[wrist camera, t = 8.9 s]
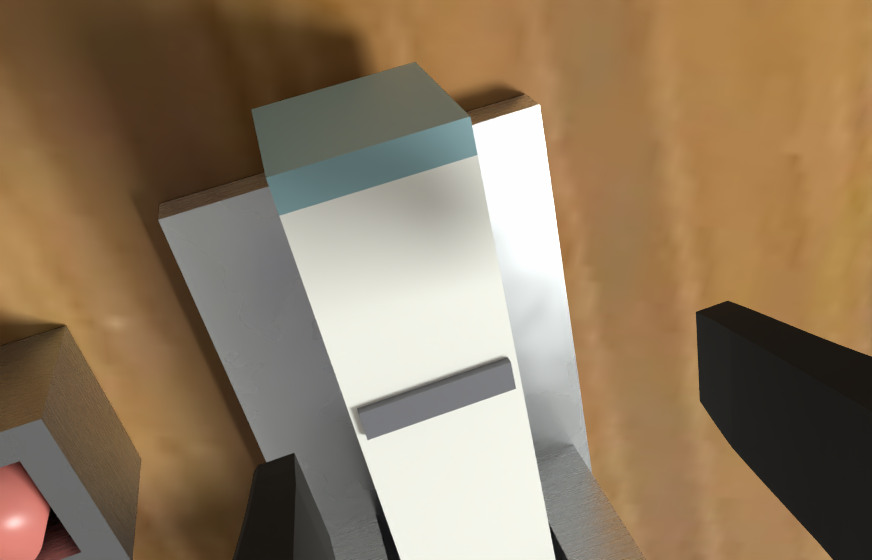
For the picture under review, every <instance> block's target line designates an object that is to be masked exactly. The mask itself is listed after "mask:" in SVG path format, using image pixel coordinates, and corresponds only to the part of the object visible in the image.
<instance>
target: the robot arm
mask: <svg viewBox="0 0 872 560" xmlns="http://www.w3.org/2000/svg"><path fill="white" fill-rule="evenodd" d="M696 324H697V346H698V369H699V391H700V402H701V403H702V405H703V406H704V408H705V409H706V411H707V412H708V414H709V415H710V417H711V418H712V420H713V421H714V423H715V424H716V426H717V427H718V428H719V430H720V431H721V433H722V434H723V435H724V437H725V438H726V440H727V441H728V442H729V444H730V445H731V447H732V448H733V449H734V450H735V451H736V452H737V454H738V455H739V456H740V457H741V458H742V459H743V460H744V461H745V463H746V464H747V465H748V466H749V467H750V468H751V469H752V470H753V471H754V473H755V474H756V475H757V476H758V477H759V478H760V479H761V480H762V481H763V483H764V484H765V485H766V486H767V487H768V488H769V489H770V490H771V491H772V492H773V493H774V495H775V496H776V497H777V498H778V499H779V500H780V501H781V502H782V503H783V504H784V505H785V507H786V508H787V509H788V510H789V511H790V512H791V513H792V514H793V515H794V516H795V517H796V519H797V520H798V521H799V522H800V523H801V524H802V525H803V526H804V527H805V528H806V529H807V531H808V532H809V533H810V534H811V535H812V536H813V537H814V538H815V539H816V540H817V541H818V543H819V544H820V545H821V546H822V547H823V548H824V550H825V551H826V552H827V553H828V554H829V555H830V557H831V558H832V559H833V560H872V357H871V356H868V355H866V354H863V353H860V352H857V351H854V350H852V349H849V348H846V347H844V346H841V345H838V344H836V343H833V342H831V341H828V340H826V339H823V338H820V337H818V336H815V335H813V334H810V333H808V332H805V331H803V330H800V329H798V328H796V327H793V326H791V325H788V324H786V323H783V322H781V321H778V320H776V319H773V318H771V317H768V316H766V315H764V314H761V313H759V312H756V311H754V310H751V309H749V308H746V307H743V306H741V305H738V304H735V303H732V302H730V301H726V302H723V303H720V304H717V305H714V306H712V307H709V308H706V309H703V310H700V311H697V312H696ZM233 560H336V559H335V555H334V551H333V547H332V543H331V539H330V535H329V533H328V531H327V528H326V526H325V524H324V521H323V519H322V516H321V514H320V512H319V509H318V507H317V505H316V502H315V500H314V498H313V495H312V493H311V491H310V488H309V486H308V483H307V481H306V479H305V476H304V474H303V472H302V469H301V467H300V465H299V462H298V460H297V458H296V455H295V453H292V454H289V455H286V456H283V457H280V458H278V459H275V460H272V461H269V462H266V463H263V464H260V465H258V466H257V468H256V470H255V471H254V474H253V480H252V485H251V490H250V495H249V500H248V504H247V509H246V513H245V517H244V521H243V525H242V528H241V532H240V536H239V540H238V543H237V546H236V550H235V553H234V556H233Z"/></svg>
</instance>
